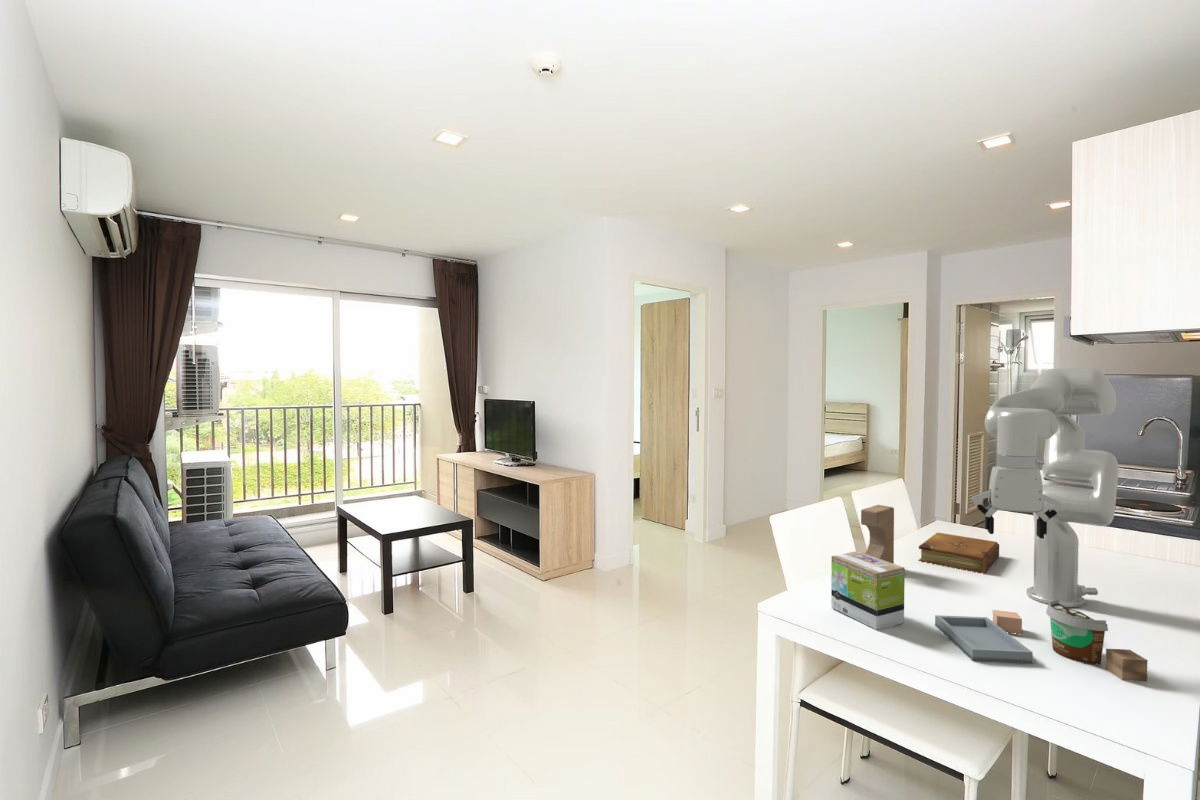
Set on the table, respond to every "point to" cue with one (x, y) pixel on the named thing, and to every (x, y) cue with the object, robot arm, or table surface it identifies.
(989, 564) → the diary
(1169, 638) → the table surface
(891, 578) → the tea box
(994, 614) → the terracotta block
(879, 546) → the decorative block
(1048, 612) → the food container
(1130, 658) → the walnut cube
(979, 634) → the tray
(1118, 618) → the table surface
